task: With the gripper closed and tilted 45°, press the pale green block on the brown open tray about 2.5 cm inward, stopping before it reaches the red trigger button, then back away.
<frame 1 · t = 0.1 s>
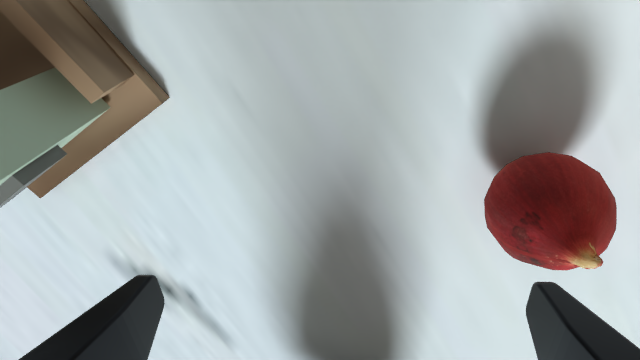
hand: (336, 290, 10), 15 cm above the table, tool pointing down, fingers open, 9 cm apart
brown open tray: (66, 110, 24), on the table
onion: (519, 172, 24), on the table
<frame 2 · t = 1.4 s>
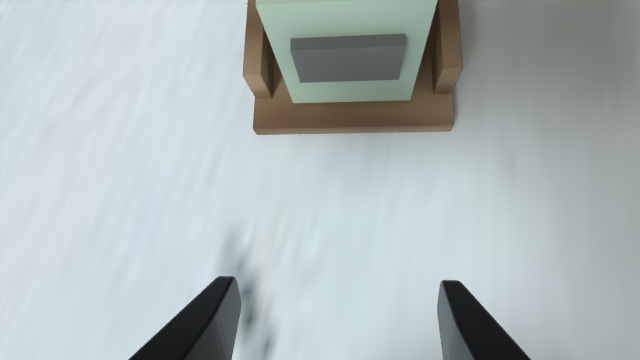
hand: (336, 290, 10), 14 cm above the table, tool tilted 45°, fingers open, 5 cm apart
brown open tray: (351, 88, 26), on the table
pale green block: (348, 40, 20), point 6 cm above the table, slide at 0.0 cm
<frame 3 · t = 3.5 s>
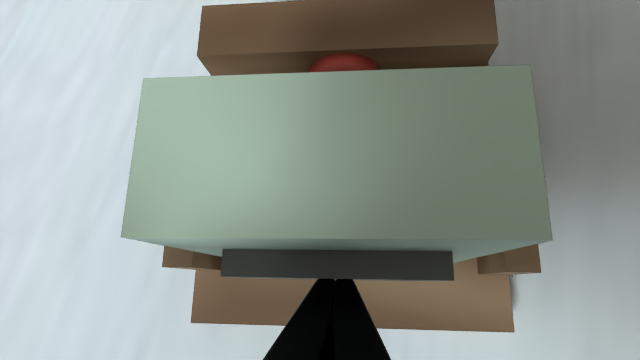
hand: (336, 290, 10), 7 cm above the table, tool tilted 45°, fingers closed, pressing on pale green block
brown open tray: (347, 248, 17), on the table
pale green block: (339, 212, 11), point 6 cm above the table, slide at 0.8 cm, touching gripper
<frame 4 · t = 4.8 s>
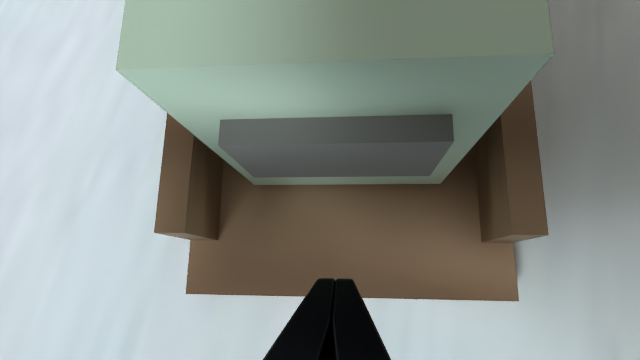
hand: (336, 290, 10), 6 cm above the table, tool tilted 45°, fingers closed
brown open tray: (346, 218, 16), on the table
pale green block: (338, 106, 11), point 6 cm above the table, slide at 2.6 cm
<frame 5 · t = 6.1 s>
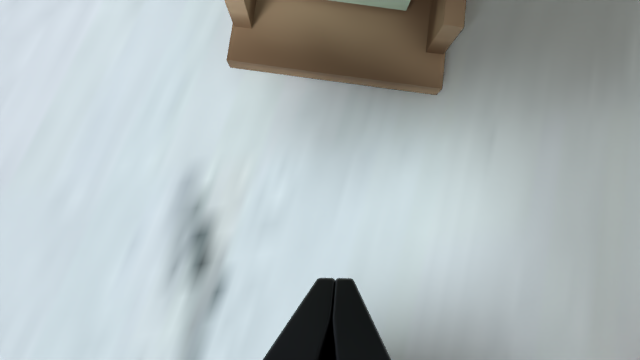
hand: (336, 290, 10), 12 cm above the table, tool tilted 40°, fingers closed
brown open tray: (339, 32, 23), on the table
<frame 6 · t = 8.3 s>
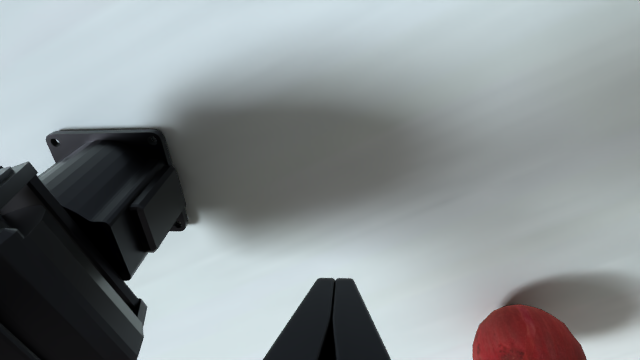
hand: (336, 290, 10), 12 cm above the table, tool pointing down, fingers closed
onion: (505, 306, 26), on the table
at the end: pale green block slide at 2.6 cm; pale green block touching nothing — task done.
